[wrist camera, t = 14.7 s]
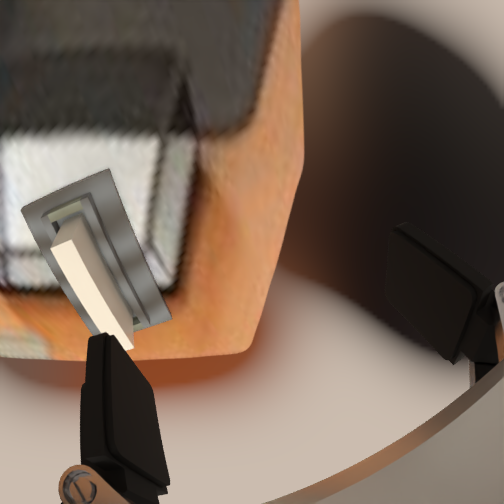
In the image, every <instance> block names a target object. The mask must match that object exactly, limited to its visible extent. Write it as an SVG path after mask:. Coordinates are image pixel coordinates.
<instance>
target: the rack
mask: <svg viewBox="0 0 504 504" xmlns="http://www.w3.org/2000/svg"><path fill="white" fill-rule="evenodd" d="M21 212H22V214H23V216H24V218H25V220H26V223H27V225H28V227H29V229H30V231H31V233H32V235H33V237H34V239H35V241H36V243H37V245H38V246H39V248H40V250H41V252H42V254H43V256H44V258H45V259H46V261H47V263H48V265H49V267H50V268H51V270H52V272H53V274H54V275H55V277H56V279H57V281H58V282H59V284H60V286H61V287H62V289H63V290H64V292H65V294H66V295H67V297H68V299H69V300H70V302H71V303H72V305H73V306H74V308H75V309H76V311H77V313H78V314H79V316H80V317H81V319H82V320H83V322H84V323H85V324H86V326H87V327H88V329H89V330H90V332H91V333H92V335H93V336H95V335H98V334H101V332H100V331H99V329H98V328H97V326H96V325H95V323H94V322H93V320H92V319H91V317H90V316H89V314H88V312H87V311H86V309H85V308H84V306H83V305H82V303H81V301H80V300H79V298H78V297H77V295H76V293H75V292H74V290H73V288H72V287H71V285H70V283H69V282H68V280H67V278H66V276H65V275H64V273H63V271H62V269H61V268H60V266H59V264H58V262H57V260H56V258H55V257H54V255H53V253H52V251H51V249H50V248H51V246H52V244H53V242H54V240H55V238H56V235H57V233H58V231H59V229H60V227H61V226H62V224H63V222H64V220H66V219H69V218H71V217H73V216H76V215H78V214H80V213H83V215H84V217H85V219H86V221H87V224H88V226H89V228H90V230H91V232H92V235H93V237H94V239H95V241H96V243H97V245H98V247H99V249H100V251H101V253H102V255H103V257H104V260H105V262H106V264H107V265H108V267H109V269H110V271H111V273H112V275H113V277H114V279H115V281H116V283H117V285H118V287H119V289H120V290H121V292H122V294H123V296H124V298H125V300H126V301H127V303H128V305H129V307H130V308H131V310H132V312H133V332H136V331H139V330H142V329H145V328H148V327H151V326H154V325H157V324H160V323H163V322H165V321H168V320H171V319H172V315H171V313H170V311H169V309H168V307H167V305H166V303H165V301H164V299H163V297H162V295H161V292H160V290H159V288H158V286H157V284H156V282H155V280H154V277H153V275H152V273H151V271H150V269H149V266H148V264H147V262H146V260H145V257H144V255H143V253H142V251H141V248H140V246H139V244H138V241H137V239H136V237H135V234H134V232H133V229H132V227H131V224H130V222H129V220H128V217H127V215H126V212H125V210H124V207H123V204H122V202H121V199H120V197H119V194H118V191H117V189H116V186H115V183H114V181H113V178H112V175H111V172H110V170H109V169H107V170H104V171H102V172H99V173H97V174H94V175H92V176H90V177H87V178H85V179H82V180H80V181H78V182H75V183H73V184H71V185H69V186H66V187H64V188H62V189H60V190H58V191H55V192H53V193H51V194H49V195H47V196H45V197H43V198H41V199H39V200H37V201H35V202H33V203H31V204H29V205H27V206H25V207H23V208H22V209H21Z"/></svg>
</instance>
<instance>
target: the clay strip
mask: <svg viewBox="0 0 504 504" xmlns="http://www.w3.org/2000/svg"><path fill="white" fill-rule="evenodd" d="M50 249H51V251H52V253H53V255H54V257H55V258H56V260H57V262H58V264H59V266H60V268H61V269H62V271H63V273H64V275H65V276H66V278H67V280H68V282H69V283H70V285H71V287H72V288H73V290H74V292H75V293H76V295H77V297H78V298H79V300H80V301H81V303H82V305H83V306H84V308H85V309H86V311H87V312H88V314H89V316H90V317H91V319H92V320H93V322H94V323H95V325H96V326H97V328H98V329H99V331H100V332H101V333H104V332H107V333H108V334H109V335H115V337H116V338H117V339H118V341H119V342H120V344H121V345H122V347H123V348H124V349H125V351H126V350H129V349H132V348H134V335H133V312H132V310H131V308H130V307H129V305H128V303H127V301H126V300H125V298H124V296H123V294H122V292H121V290H120V289H119V287H118V285H117V283H116V281H115V279H114V277H113V275H112V273H111V271H110V269H109V267H108V265H107V264H106V262H105V260H104V257H103V255H102V253H101V251H100V249H99V247H98V245H97V243H96V241H95V239H94V237H93V235H92V232H91V230H90V228H89V226H88V224H87V221H86V219H85V217H84V215H83V213H80V214H78V215H76V216H73V217H71V218H69V219H66V220H64V222H63V224H62V226H61V227H60V229H59V231H58V233H57V235H56V238H55V240H54V242H53V244H52V246H51V248H50Z"/></svg>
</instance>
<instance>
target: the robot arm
mask: <svg viewBox="0 0 504 504" xmlns="http://www.w3.org/2000/svg"><path fill="white" fill-rule="evenodd" d="M492 286H493V283H492V282H491V281H490V280H489V279H487V278H486V277H485V276H484V275H482V274H481V273H480V272H478V271H477V270H476V269H475V268H473V267H472V266H470V265H469V264H468V263H467V262H465V261H464V260H462V259H461V258H459V257H458V256H457V255H456V254H454V253H453V252H451V251H450V250H449V249H447V248H446V247H445V246H443V245H442V244H440V243H439V242H437V241H436V240H434V239H433V238H432V237H430V236H429V235H427V234H426V233H424V232H423V231H421V230H420V229H418V228H417V227H415V226H414V225H412V224H411V223H409V222H405V223H403V224H401V225H398V226H395V227H394V228H393V229H392V231H391V233H390V235H389V247H388V261H387V275H386V285H385V295H386V298H387V300H388V301H389V302H390V303H391V304H392V305H393V306H394V307H395V308H396V309H397V310H398V311H399V312H400V313H401V314H402V315H403V316H404V317H405V318H406V319H407V320H408V322H410V323H411V325H412V326H413V327H414V328H415V329H416V330H417V331H418V332H419V333H420V334H421V335H422V336H423V337H424V338H425V339H426V340H427V341H428V342H429V344H430V345H431V346H432V347H433V348H434V349H435V350H436V351H437V352H438V353H439V354H440V355H441V356H442V357H443V358H444V359H445V360H449V361H450V362H451V363H452V364H453V365H454V364H456V363H457V362H458V361H459V360H461V359H462V358H463V357H464V355H466V356H467V357H468V360H469V378H470V389H469V390H467V391H466V392H465V393H464V394H462V395H461V396H460V397H459V398H457V399H456V400H455V401H453V402H452V403H451V404H450V405H448V406H447V407H446V408H444V409H443V410H442V411H440V412H439V413H437V414H436V415H435V416H433V417H432V418H430V419H429V420H428V421H426V422H425V423H424V424H422V425H421V426H419V427H417V428H416V429H414V430H413V431H411V432H410V433H408V434H407V435H405V436H404V437H402V438H401V439H399V440H397V441H396V442H394V443H392V444H391V445H389V446H387V447H386V448H384V449H382V450H381V451H379V452H377V453H375V454H374V455H372V456H370V457H368V458H366V459H364V460H363V461H361V462H359V463H357V464H355V465H353V466H351V467H349V468H347V469H345V470H343V471H341V472H339V473H337V474H335V475H333V476H331V477H329V478H326V479H324V480H322V481H320V482H317V483H315V484H313V485H311V486H308V487H306V488H303V489H301V490H298V491H296V492H293V493H291V494H288V495H286V496H283V497H280V498H278V499H275V500H272V501H269V502H266V503H263V504H504V282H503V283H500V284H499V285H498V286H497V287H496V289H495V292H494V291H493V290H492ZM80 450H81V465H75V466H72V467H70V468H68V469H67V470H66V471H65V472H64V473H63V475H62V476H61V478H60V481H59V495H60V499H61V500H62V503H61V504H159V500H158V496H159V495H164V494H168V491H167V487H166V486H168V485H170V478H169V473H168V469H167V465H166V460H165V455H164V450H163V445H162V440H161V435H160V429H159V423H158V417H157V411H156V405H155V399H154V393H153V390H152V387H151V385H150V384H149V382H148V381H147V380H146V378H145V377H144V376H143V374H142V373H141V372H140V370H139V369H138V368H137V366H136V365H135V363H134V362H133V361H132V359H131V358H130V357H129V355H128V354H127V352H126V351H125V349H124V348H123V347H122V345H121V344H120V342H119V341H118V339H117V338H116V337H115V335H109V334H108V333H107V332H104V333H101V334H98V335H95V336H91V337H90V338H89V340H88V348H87V361H86V377H85V383H84V384H83V385H82V388H81V405H80Z"/></svg>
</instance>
